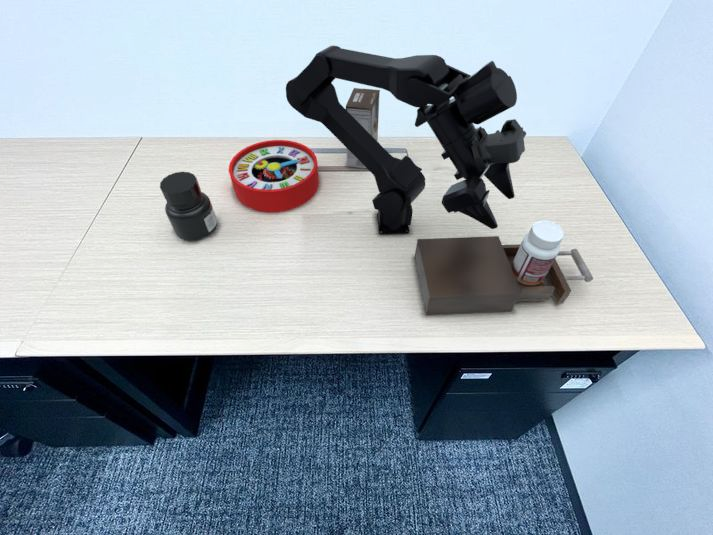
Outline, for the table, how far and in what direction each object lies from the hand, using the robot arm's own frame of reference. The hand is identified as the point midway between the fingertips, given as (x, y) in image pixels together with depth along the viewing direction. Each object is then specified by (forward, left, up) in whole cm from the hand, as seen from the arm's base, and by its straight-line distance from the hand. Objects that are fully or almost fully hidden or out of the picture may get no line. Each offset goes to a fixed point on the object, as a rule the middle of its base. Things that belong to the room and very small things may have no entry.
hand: (503, 212), depth 68 cm
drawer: (+7, -5, -13) cm, 15 cm away
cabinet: (-6, -5, -14) cm, 15 cm away
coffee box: (-22, +37, -14) cm, 45 cm away
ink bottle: (-59, +13, -14) cm, 62 cm away
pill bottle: (+6, -4, -12) cm, 14 cm away
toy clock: (-43, +27, -14) cm, 53 cm away
